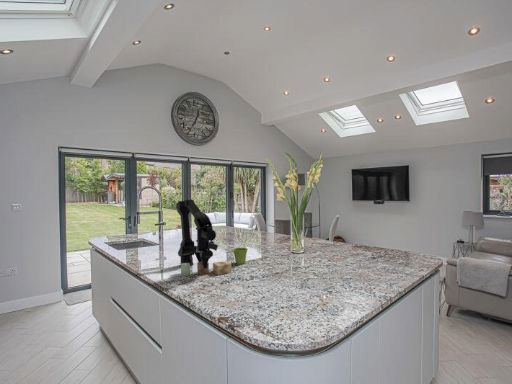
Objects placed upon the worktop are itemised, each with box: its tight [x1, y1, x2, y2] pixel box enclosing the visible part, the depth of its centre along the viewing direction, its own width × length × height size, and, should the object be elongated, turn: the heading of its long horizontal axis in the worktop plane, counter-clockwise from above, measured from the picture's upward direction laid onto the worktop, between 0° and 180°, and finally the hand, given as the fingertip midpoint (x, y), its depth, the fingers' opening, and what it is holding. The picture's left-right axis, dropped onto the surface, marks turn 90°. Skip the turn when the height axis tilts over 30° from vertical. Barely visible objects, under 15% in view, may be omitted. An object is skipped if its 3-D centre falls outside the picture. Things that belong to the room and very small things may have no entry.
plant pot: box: [232, 247, 249, 265], centre depth 184 cm, size 9×9×9 cm
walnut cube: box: [196, 261, 210, 276], centre depth 164 cm, size 5×5×6 cm
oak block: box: [212, 260, 232, 276], centre depth 166 cm, size 8×8×5 cm
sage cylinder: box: [180, 263, 191, 277], centre depth 161 cm, size 5×5×6 cm
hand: (202, 266), depth 164 cm, fingers open, 9 cm apart
